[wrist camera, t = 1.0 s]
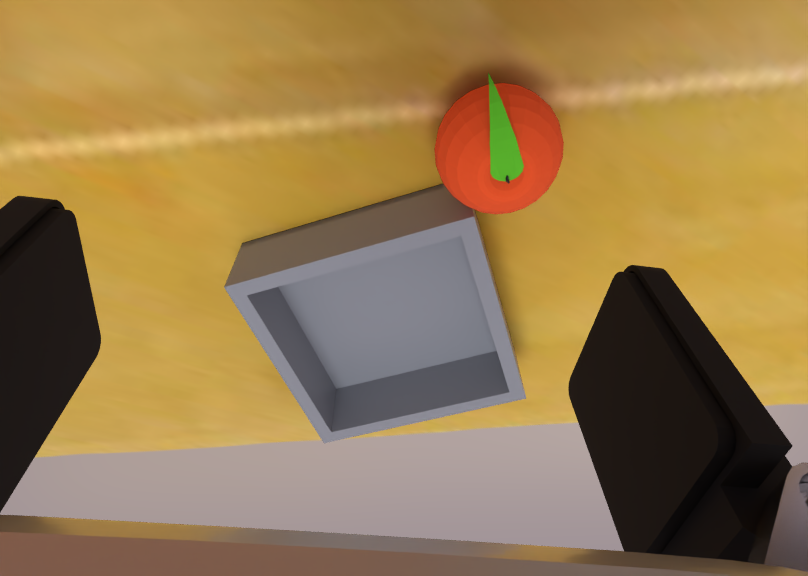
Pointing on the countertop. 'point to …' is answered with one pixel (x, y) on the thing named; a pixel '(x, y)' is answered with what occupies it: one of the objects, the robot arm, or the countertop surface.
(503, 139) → the clementine
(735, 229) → the countertop surface
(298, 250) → the bin
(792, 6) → the countertop surface
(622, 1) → the countertop surface
